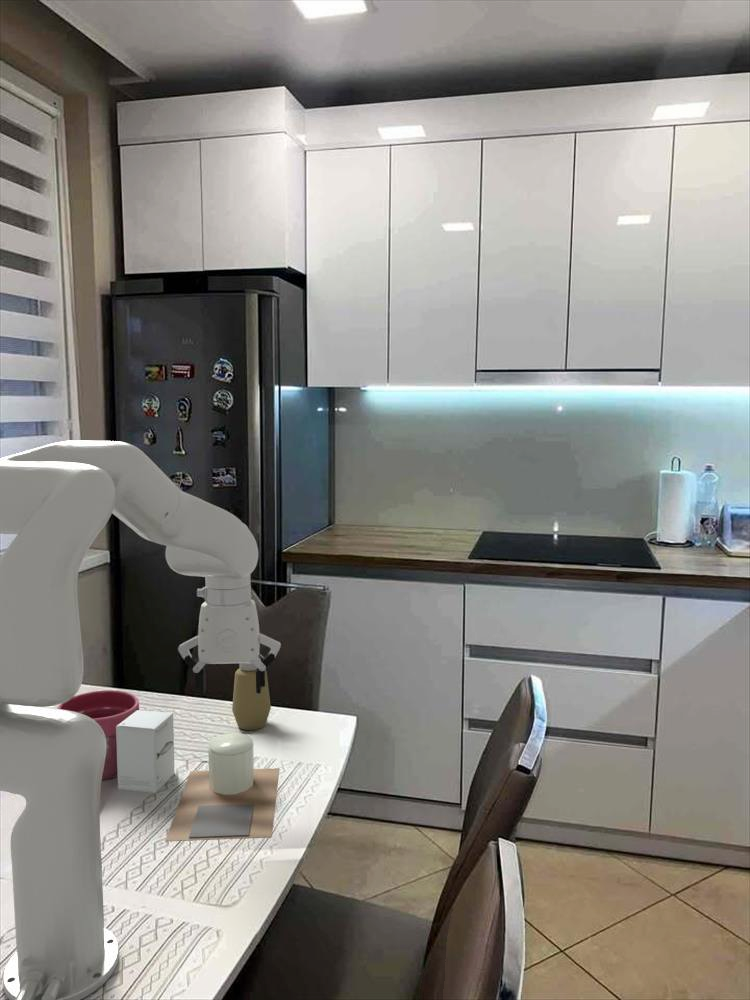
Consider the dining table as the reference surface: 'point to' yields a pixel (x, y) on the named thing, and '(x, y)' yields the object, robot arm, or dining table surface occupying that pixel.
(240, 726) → the squeeze bottle
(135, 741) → the supplement box
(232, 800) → the tan flat board
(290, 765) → the dining table surface
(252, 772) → the sage cup
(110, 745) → the plant pot
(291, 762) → the dining table surface
